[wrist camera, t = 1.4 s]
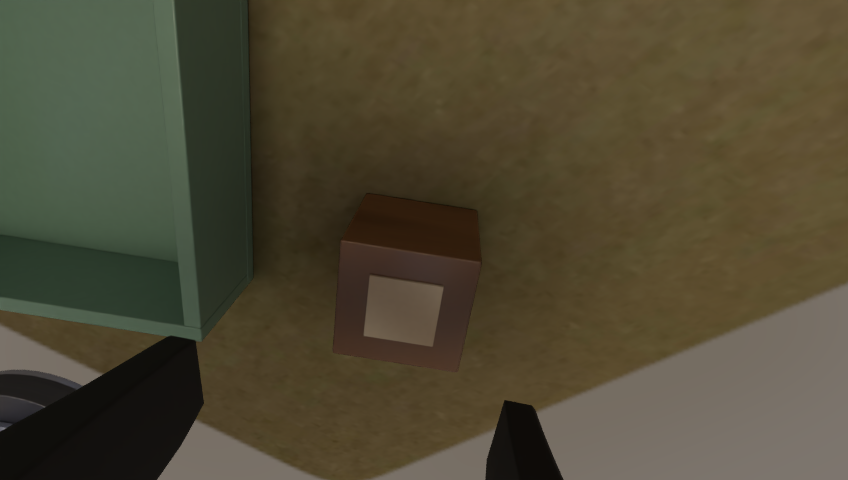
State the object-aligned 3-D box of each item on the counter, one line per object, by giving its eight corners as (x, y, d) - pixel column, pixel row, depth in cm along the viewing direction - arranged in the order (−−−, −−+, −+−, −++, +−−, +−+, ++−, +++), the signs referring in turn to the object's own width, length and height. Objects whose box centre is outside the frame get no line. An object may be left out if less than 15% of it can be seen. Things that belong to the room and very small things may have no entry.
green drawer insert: (253, 278, 21) (201, 342, 16) (-16, 235, 21) (-136, 289, 17) (246, -72, 15) (165, -109, 11) (-124, -129, 15) (-346, -187, 11)
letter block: (458, 304, 20) (457, 375, 16) (357, 288, 20) (331, 355, 16) (477, 209, 19) (482, 263, 14) (366, 192, 19) (339, 241, 14)
